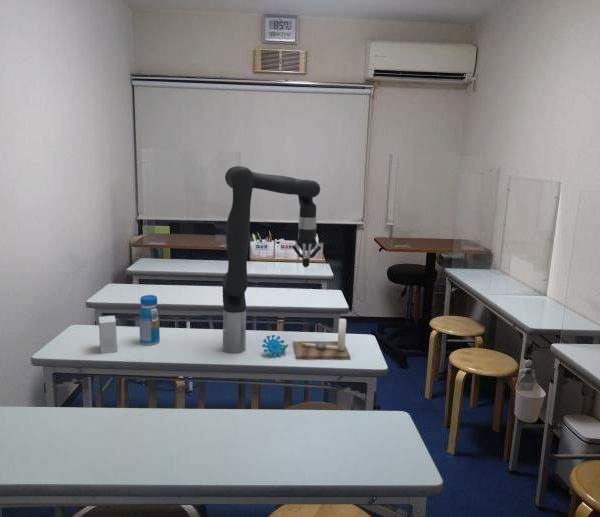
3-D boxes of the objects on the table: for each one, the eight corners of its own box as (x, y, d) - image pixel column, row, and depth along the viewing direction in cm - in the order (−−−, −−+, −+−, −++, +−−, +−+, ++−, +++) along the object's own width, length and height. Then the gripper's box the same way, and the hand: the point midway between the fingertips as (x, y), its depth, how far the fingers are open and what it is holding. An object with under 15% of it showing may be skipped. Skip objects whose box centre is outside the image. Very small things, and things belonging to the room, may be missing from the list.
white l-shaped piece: (300, 347, 213) (301, 317, 210) (302, 343, 217) (303, 314, 214) (344, 352, 209) (345, 321, 207) (345, 348, 214) (346, 318, 211)
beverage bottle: (138, 346, 212) (137, 300, 208) (140, 339, 220) (138, 294, 216) (159, 345, 214) (158, 299, 210) (160, 338, 222) (159, 293, 218)
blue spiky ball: (263, 355, 203) (262, 333, 209) (259, 361, 208) (258, 339, 213) (289, 357, 207) (288, 334, 212) (285, 362, 211) (283, 340, 217)
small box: (99, 346, 210) (98, 316, 208) (116, 344, 213) (114, 315, 210) (100, 353, 203) (99, 322, 201) (117, 352, 206) (116, 321, 203)
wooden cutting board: (296, 359, 205) (296, 355, 205) (292, 344, 220) (293, 341, 220) (350, 359, 207) (350, 355, 207) (343, 344, 223) (343, 341, 222)
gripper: (292, 228, 213) (291, 268, 217) (323, 229, 214) (321, 269, 218) (291, 225, 220) (289, 264, 224) (321, 226, 222) (319, 265, 225)
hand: (305, 266), depth 221 cm, fingers closed
